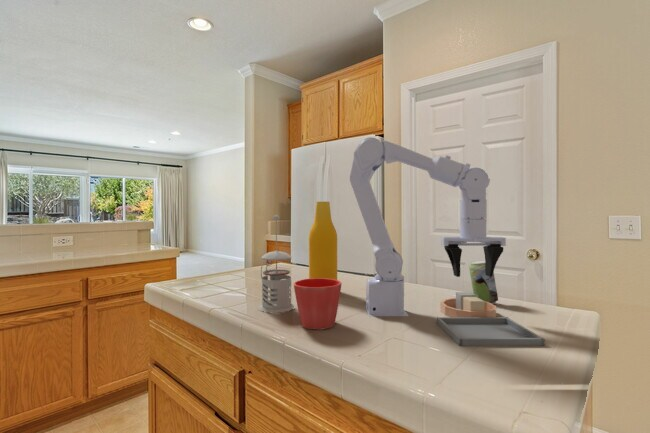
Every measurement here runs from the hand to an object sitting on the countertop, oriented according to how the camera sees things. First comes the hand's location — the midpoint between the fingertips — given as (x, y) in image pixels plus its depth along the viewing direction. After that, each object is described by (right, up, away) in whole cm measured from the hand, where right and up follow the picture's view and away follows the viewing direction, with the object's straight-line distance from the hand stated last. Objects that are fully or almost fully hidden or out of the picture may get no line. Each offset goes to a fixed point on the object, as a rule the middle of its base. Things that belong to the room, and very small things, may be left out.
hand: (472, 276), depth 80 cm
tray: (-2, -11, -11) cm, 15 cm away
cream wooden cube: (0, -10, 0) cm, 10 cm away
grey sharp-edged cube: (0, -10, +5) cm, 11 cm away
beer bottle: (-36, -10, +28) cm, 47 cm away
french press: (-49, -11, +11) cm, 51 cm away
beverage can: (+9, -10, +14) cm, 20 cm away
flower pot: (-37, -11, -3) cm, 39 cm away
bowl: (0, -10, +3) cm, 11 cm away
